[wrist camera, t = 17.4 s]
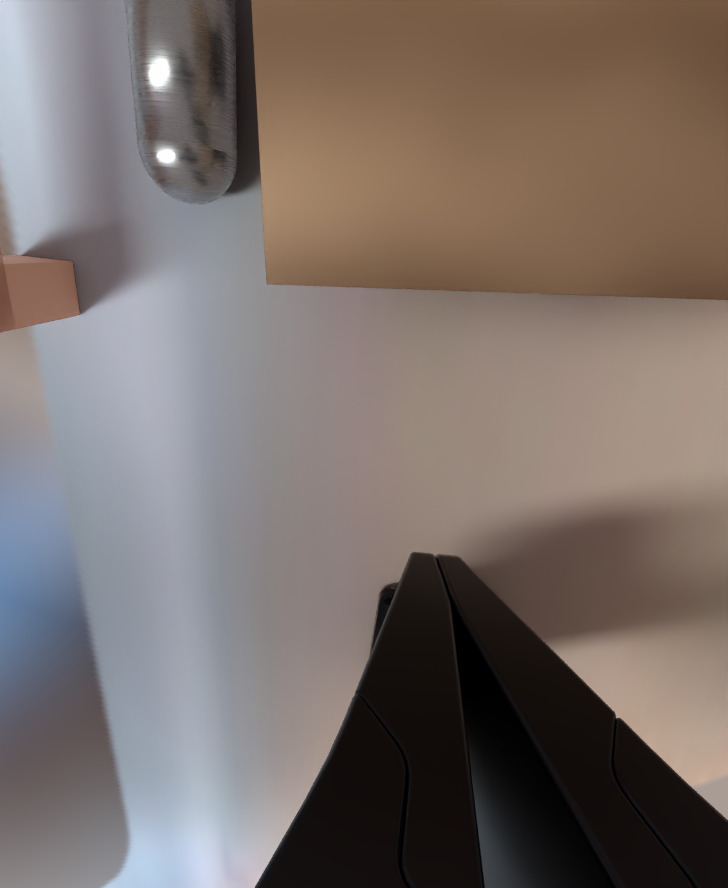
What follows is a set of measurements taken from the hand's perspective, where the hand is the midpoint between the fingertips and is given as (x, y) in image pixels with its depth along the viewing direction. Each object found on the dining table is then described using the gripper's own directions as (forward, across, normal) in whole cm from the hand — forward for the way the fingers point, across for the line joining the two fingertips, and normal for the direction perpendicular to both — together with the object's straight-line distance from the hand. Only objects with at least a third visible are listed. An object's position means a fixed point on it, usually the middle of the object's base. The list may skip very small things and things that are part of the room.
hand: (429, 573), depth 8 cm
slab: (+9, -2, -10) cm, 13 cm away
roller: (+12, +8, -10) cm, 18 cm away
